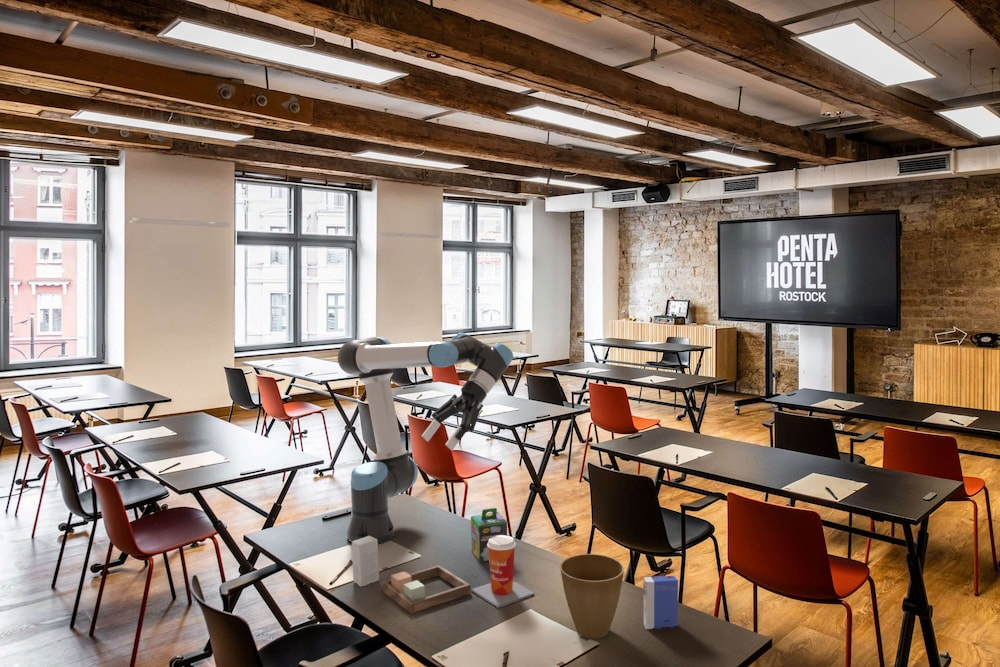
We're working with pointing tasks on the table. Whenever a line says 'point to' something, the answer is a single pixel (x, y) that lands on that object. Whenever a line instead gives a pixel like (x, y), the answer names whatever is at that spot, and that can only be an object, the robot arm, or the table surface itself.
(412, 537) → the table surface
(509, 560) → the paper cup
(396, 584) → the terracotta block
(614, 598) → the plant pot
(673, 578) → the blue carton
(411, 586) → the sage block
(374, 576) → the skincare box
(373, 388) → the robot arm
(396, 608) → the table surface
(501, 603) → the grey pad
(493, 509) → the chalk box
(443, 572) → the walnut frame
